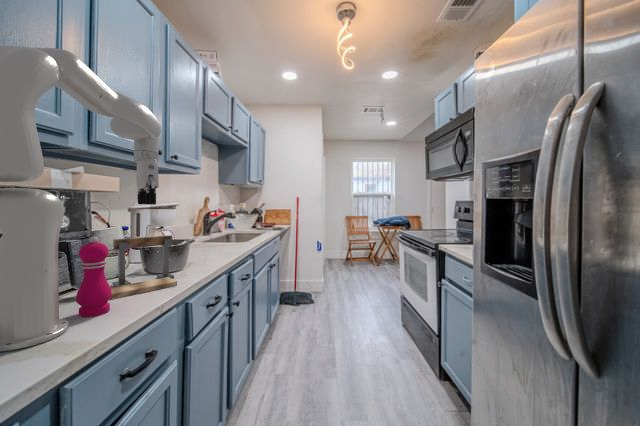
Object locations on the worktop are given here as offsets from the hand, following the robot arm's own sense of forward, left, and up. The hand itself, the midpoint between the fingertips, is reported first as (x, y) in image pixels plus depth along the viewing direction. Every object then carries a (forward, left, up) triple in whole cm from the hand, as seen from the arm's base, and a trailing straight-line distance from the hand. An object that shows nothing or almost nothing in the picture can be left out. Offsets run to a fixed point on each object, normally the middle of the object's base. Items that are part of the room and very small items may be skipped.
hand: (146, 204), depth 99 cm
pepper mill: (-19, -23, -29) cm, 41 cm away
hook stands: (-1, 0, -28) cm, 28 cm away
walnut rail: (-1, 0, -15) cm, 15 cm away
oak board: (-6, -10, -28) cm, 31 cm away
